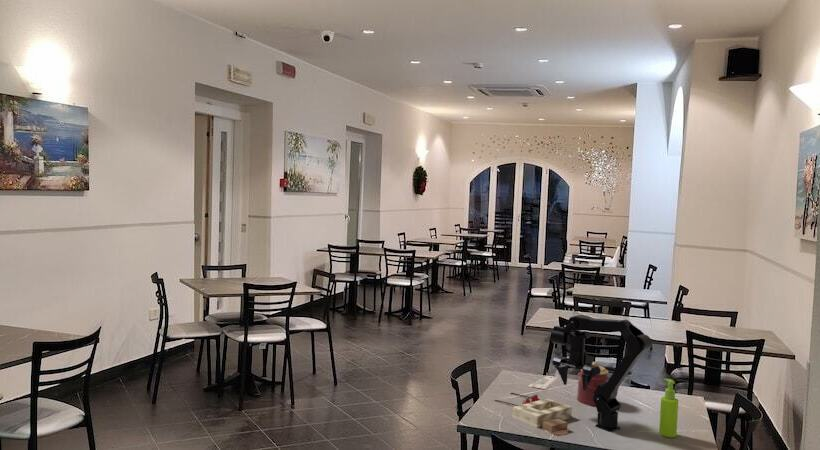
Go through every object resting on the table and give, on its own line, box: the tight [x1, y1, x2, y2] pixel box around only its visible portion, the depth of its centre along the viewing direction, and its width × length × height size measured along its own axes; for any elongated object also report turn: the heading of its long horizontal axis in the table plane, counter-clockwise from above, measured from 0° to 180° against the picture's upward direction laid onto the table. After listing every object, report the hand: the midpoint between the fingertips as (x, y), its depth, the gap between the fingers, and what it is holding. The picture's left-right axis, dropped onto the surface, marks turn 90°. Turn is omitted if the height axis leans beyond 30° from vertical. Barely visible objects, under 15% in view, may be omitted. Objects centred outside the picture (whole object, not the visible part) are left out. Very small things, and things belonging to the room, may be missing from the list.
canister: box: [576, 361, 611, 408], centre depth 266 cm, size 13×13×18 cm
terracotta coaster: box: [542, 428, 569, 436], centre depth 232 cm, size 9×9×1 cm
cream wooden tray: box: [512, 398, 573, 428], centre depth 244 cm, size 20×12×5 cm, turn 128°
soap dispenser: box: [658, 378, 679, 438], centre depth 233 cm, size 6×7×20 cm
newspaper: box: [528, 375, 560, 391], centre depth 289 cm, size 23×12×2 cm, turn 151°
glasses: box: [493, 392, 541, 407], centre depth 262 cm, size 14×16×5 cm
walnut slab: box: [541, 419, 568, 434], centre depth 232 cm, size 8×4×2 cm, turn 123°
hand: (574, 387), depth 247 cm, fingers open, 9 cm apart
